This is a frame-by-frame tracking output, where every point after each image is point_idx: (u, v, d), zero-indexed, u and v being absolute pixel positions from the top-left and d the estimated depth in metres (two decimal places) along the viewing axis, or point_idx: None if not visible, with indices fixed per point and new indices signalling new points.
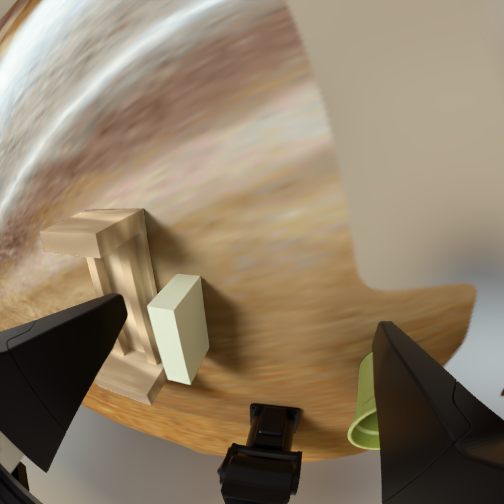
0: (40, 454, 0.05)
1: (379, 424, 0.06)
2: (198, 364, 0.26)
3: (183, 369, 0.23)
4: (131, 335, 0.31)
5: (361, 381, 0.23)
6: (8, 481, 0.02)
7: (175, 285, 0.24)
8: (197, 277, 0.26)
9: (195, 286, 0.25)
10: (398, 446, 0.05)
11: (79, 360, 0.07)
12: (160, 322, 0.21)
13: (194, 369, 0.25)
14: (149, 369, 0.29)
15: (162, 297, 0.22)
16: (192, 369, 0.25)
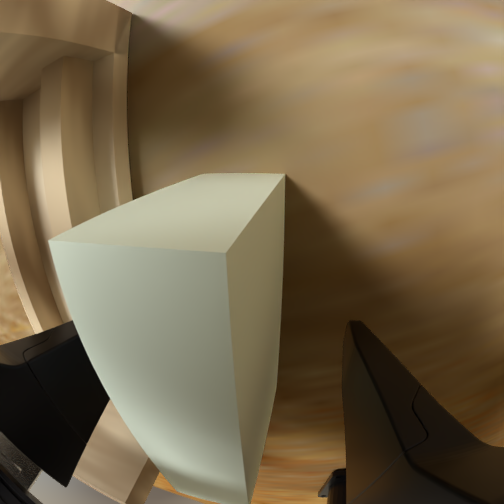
0: (60, 469, 0.04)
1: (345, 425, 0.06)
2: (263, 447, 0.08)
3: (234, 492, 0.05)
4: None
5: None
6: (8, 481, 0.02)
7: (205, 185, 0.06)
8: (278, 175, 0.07)
9: (280, 195, 0.07)
10: (359, 449, 0.05)
11: None
12: (125, 349, 0.03)
13: (257, 468, 0.07)
14: (128, 434, 0.11)
15: (145, 208, 0.04)
16: (254, 473, 0.06)
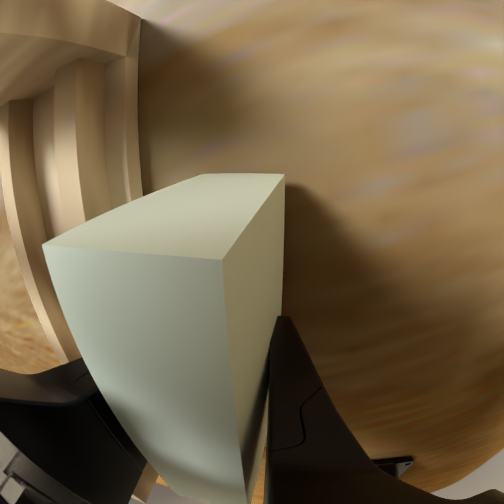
0: (116, 503, 0.04)
1: None
2: (262, 450, 0.08)
3: (234, 495, 0.05)
4: None
5: None
6: None
7: (203, 186, 0.06)
8: (278, 175, 0.07)
9: (279, 196, 0.07)
10: None
11: None
12: (121, 355, 0.03)
13: (257, 471, 0.07)
14: None
15: (141, 210, 0.04)
16: (254, 476, 0.06)
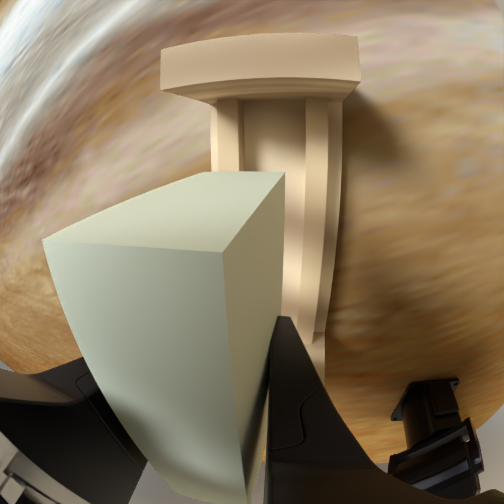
0: (116, 503, 0.04)
1: None
2: (263, 448, 0.08)
3: (234, 494, 0.05)
4: None
5: None
6: None
7: (203, 183, 0.06)
8: (278, 173, 0.07)
9: (279, 194, 0.07)
10: None
11: None
12: (121, 351, 0.03)
13: (257, 470, 0.07)
14: None
15: (141, 206, 0.04)
16: (254, 475, 0.06)
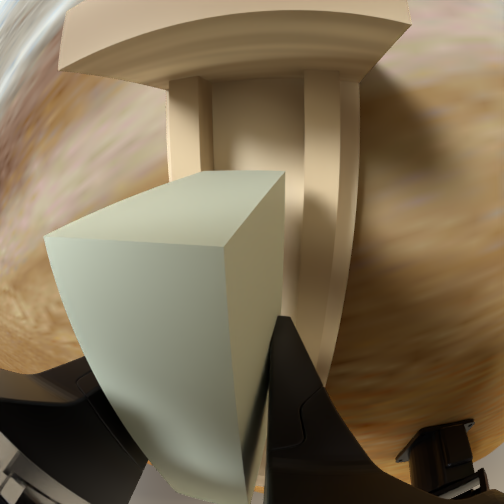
0: (116, 503, 0.04)
1: None
2: (263, 447, 0.08)
3: (234, 492, 0.05)
4: None
5: None
6: None
7: (204, 182, 0.06)
8: (278, 172, 0.07)
9: (280, 192, 0.07)
10: None
11: None
12: (121, 347, 0.03)
13: (257, 468, 0.07)
14: None
15: (142, 204, 0.04)
16: (254, 474, 0.06)
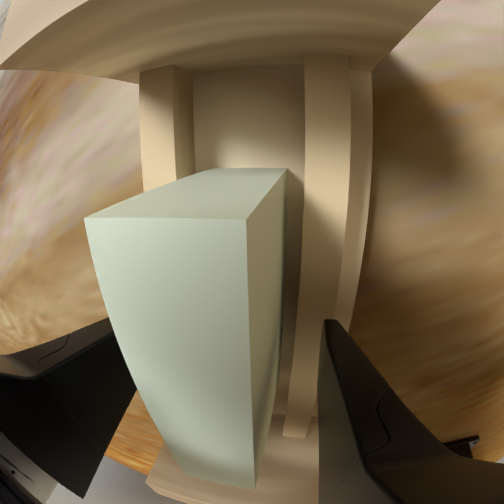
0: (77, 481, 0.04)
1: (319, 424, 0.06)
2: (267, 429, 0.09)
3: (242, 468, 0.06)
4: None
5: None
6: (8, 481, 0.02)
7: (216, 177, 0.07)
8: (281, 169, 0.08)
9: (283, 187, 0.07)
10: (328, 449, 0.05)
11: (119, 375, 0.07)
12: (151, 314, 0.04)
13: (262, 448, 0.08)
14: (291, 451, 0.11)
15: (167, 193, 0.05)
16: (260, 452, 0.07)
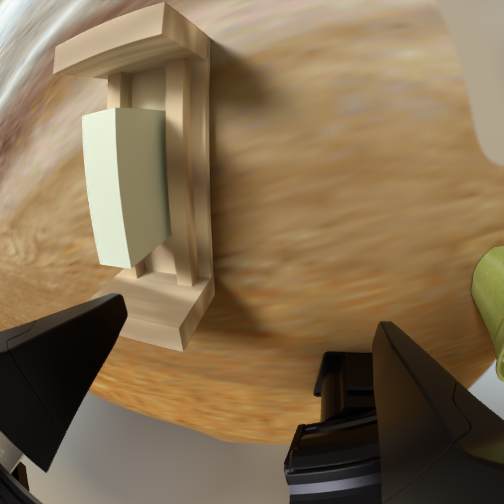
0: (40, 454, 0.05)
1: (379, 424, 0.06)
2: (150, 243, 0.17)
3: (120, 233, 0.14)
4: None
5: (490, 285, 0.14)
6: (8, 481, 0.02)
7: None
8: None
9: (158, 115, 0.15)
10: (398, 446, 0.05)
11: (79, 360, 0.07)
12: (94, 139, 0.12)
13: (142, 246, 0.16)
14: (179, 292, 0.19)
15: None
16: (137, 242, 0.15)
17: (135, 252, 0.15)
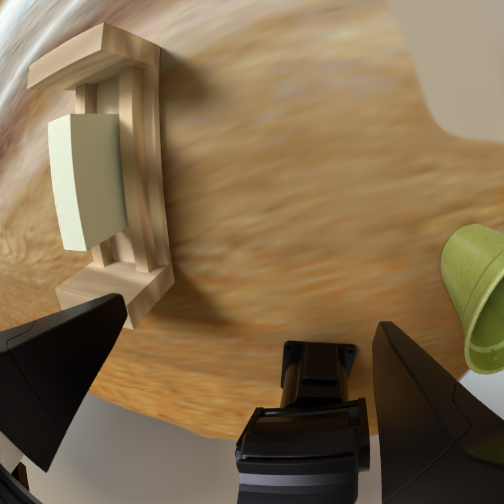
0: (40, 454, 0.05)
1: (379, 424, 0.06)
2: (107, 231, 0.18)
3: (77, 219, 0.15)
4: (117, 234, 0.22)
5: (456, 265, 0.15)
6: (8, 481, 0.02)
7: None
8: None
9: (113, 118, 0.17)
10: (398, 446, 0.05)
11: (79, 360, 0.07)
12: (56, 141, 0.13)
13: (97, 232, 0.17)
14: (136, 277, 0.20)
15: None
16: (93, 228, 0.16)
17: (90, 237, 0.16)
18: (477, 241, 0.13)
